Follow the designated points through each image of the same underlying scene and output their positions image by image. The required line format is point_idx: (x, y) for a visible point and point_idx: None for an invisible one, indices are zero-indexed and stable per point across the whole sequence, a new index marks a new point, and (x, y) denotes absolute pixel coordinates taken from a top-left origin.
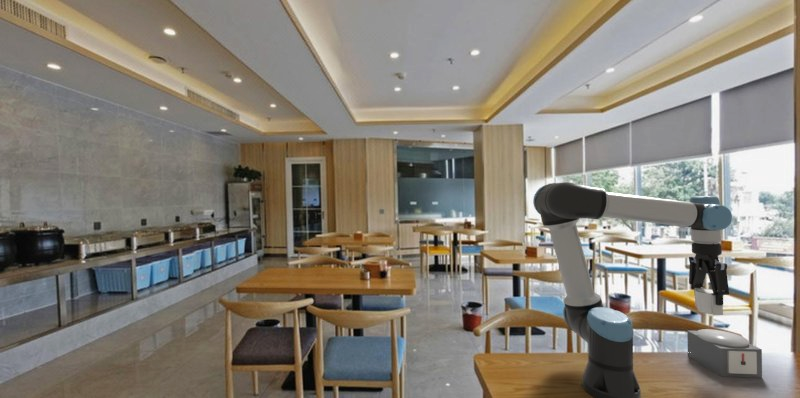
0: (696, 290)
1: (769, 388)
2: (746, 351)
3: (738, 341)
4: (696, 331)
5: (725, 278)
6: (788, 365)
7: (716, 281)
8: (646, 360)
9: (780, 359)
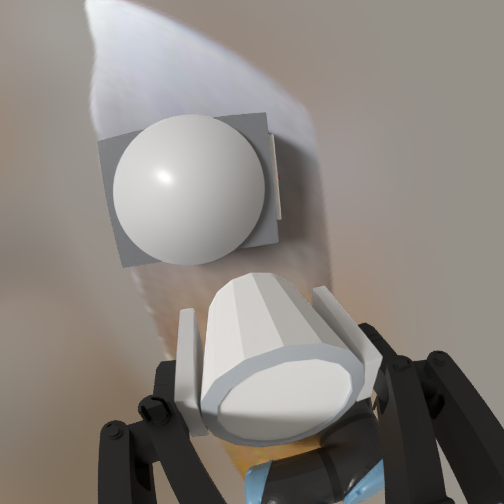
0: (271, 444)
1: (304, 147)
2: (272, 162)
3: (232, 161)
4: (123, 241)
5: (495, 435)
6: (162, 21)
7: (444, 452)
8: None
9: (127, 21)
